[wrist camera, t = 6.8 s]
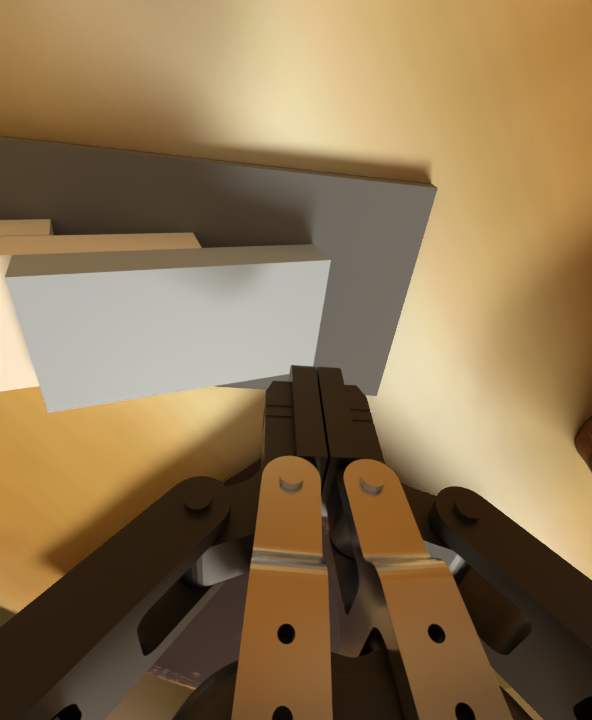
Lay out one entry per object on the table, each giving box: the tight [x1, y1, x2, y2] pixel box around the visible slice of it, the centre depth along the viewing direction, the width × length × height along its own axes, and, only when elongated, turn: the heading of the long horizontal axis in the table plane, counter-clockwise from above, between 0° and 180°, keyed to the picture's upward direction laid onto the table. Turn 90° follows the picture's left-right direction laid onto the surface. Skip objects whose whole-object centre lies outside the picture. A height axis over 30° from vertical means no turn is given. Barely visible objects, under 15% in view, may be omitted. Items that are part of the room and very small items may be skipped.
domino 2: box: [5, 244, 331, 413], centre depth 15 cm, size 5×2×10 cm
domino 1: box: [0, 232, 202, 391], centre depth 15 cm, size 5×2×10 cm
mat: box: [0, 136, 437, 396], centre depth 17 cm, size 10×25×1 cm, turn 83°
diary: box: [147, 458, 341, 688], centre depth 29 cm, size 19×25×5 cm
